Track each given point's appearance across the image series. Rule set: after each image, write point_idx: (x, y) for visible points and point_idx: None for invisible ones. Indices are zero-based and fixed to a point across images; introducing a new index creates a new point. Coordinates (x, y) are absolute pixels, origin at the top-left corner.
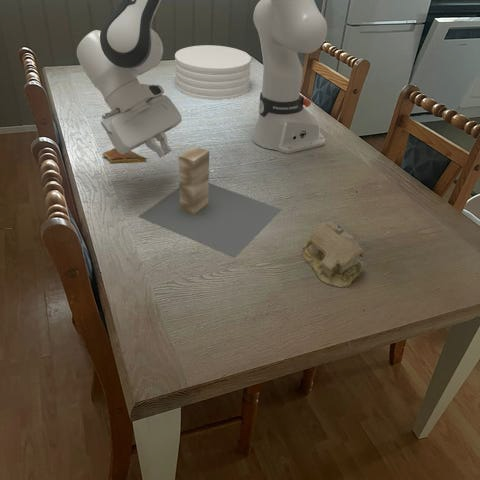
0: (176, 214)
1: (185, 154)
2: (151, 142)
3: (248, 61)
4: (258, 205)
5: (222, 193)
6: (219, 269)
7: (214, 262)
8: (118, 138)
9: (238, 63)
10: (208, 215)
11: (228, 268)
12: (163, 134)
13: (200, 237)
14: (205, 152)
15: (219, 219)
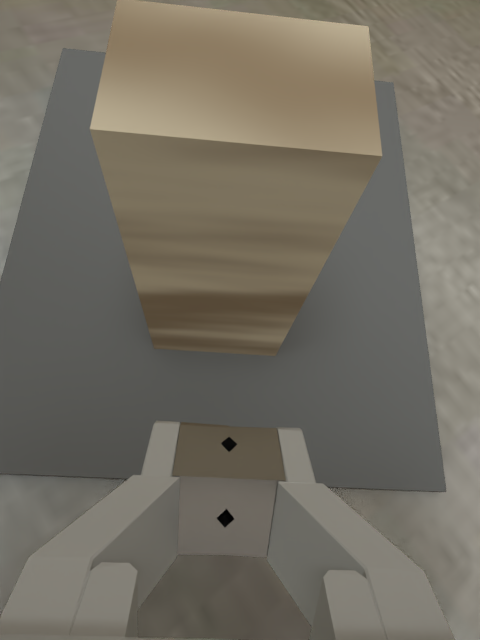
0: (320, 346)
1: (314, 121)
2: (429, 597)
3: None
4: (76, 114)
5: (52, 260)
6: (454, 105)
7: (440, 126)
8: None
9: None
10: None
11: (433, 89)
12: (60, 600)
13: (382, 199)
14: (165, 10)
15: None
